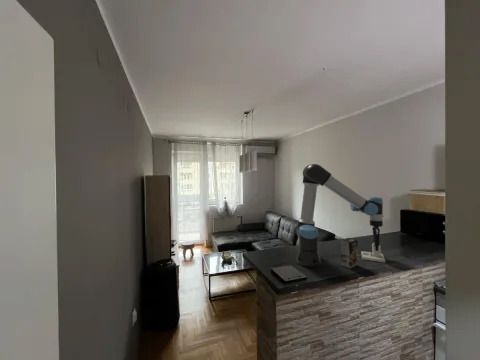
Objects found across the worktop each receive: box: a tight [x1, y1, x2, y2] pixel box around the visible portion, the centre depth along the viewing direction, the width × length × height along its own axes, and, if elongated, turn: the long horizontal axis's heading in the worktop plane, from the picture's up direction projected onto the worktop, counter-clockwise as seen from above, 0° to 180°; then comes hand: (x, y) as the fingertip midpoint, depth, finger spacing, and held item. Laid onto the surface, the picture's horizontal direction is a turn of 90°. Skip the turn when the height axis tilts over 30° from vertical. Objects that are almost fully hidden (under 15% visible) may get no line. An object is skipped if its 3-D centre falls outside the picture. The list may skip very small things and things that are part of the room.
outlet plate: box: [360, 251, 386, 263], centre depth 151 cm, size 13×12×2 cm
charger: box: [371, 243, 382, 258], centre depth 151 cm, size 4×4×8 cm
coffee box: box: [340, 237, 359, 269], centre depth 139 cm, size 9×6×16 cm
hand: (376, 253), depth 151 cm, fingers closed on charger, 4 cm apart
